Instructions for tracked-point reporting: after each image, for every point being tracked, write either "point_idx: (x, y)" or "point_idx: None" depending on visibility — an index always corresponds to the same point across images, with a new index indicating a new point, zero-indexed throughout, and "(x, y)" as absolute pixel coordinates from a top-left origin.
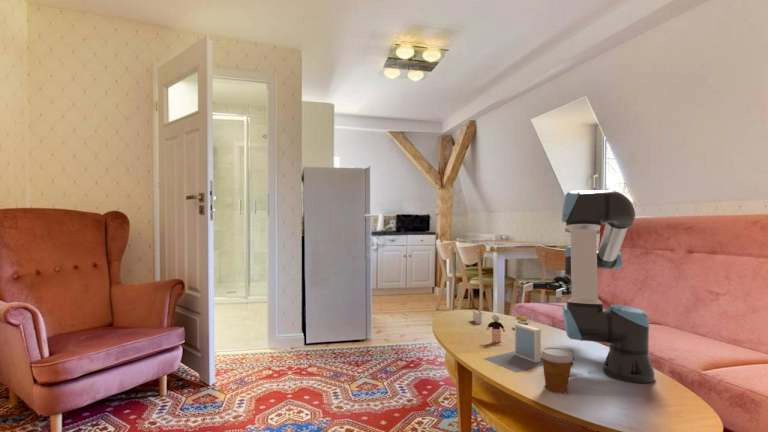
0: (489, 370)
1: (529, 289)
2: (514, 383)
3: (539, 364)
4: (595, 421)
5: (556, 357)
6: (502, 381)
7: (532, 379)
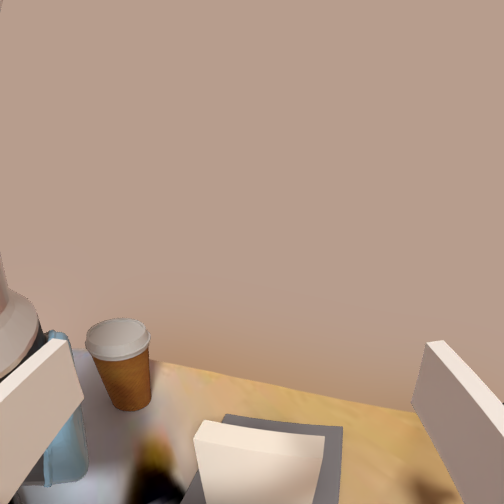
0: (285, 400)
1: (451, 455)
2: (209, 384)
3: (200, 485)
4: (80, 349)
5: (116, 321)
6: (231, 379)
7: (185, 413)
